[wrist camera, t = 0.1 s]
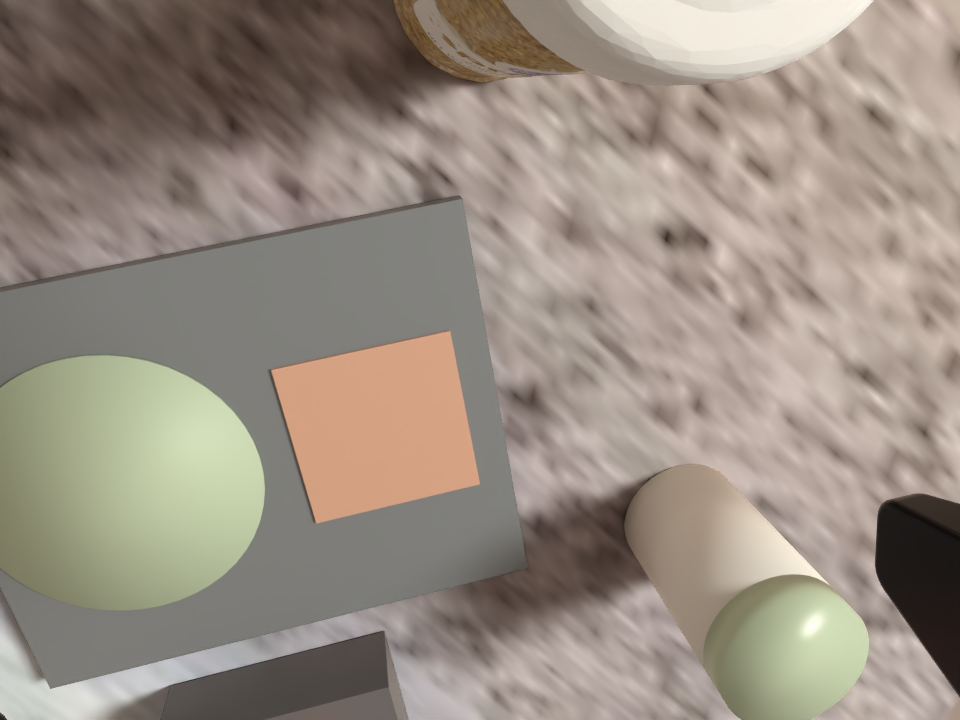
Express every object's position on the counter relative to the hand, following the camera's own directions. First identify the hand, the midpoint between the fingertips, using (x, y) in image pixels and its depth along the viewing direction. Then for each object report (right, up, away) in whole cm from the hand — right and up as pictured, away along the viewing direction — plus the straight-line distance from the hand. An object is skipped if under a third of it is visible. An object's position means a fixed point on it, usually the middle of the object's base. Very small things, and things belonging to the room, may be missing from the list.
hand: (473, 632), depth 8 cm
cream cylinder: (+7, -3, +18) cm, 19 cm away
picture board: (-7, 0, +14) cm, 16 cm away
